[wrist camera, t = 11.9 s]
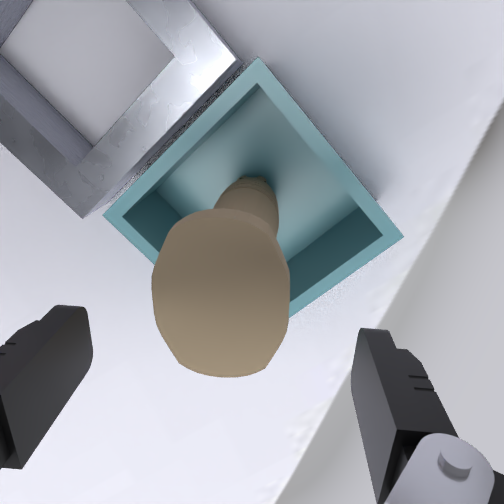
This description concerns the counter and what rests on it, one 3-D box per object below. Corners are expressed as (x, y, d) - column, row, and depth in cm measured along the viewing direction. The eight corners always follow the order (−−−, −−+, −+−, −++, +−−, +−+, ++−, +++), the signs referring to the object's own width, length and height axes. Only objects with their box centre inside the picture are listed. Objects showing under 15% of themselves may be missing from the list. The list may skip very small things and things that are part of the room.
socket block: (-52, 48, 26) (-107, 42, 22) (72, -144, 22) (28, -191, 18) (107, 202, 29) (82, 218, 26) (243, 63, 25) (236, 59, 21)
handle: (289, 149, 26) (293, 219, 12) (285, 239, 28) (285, 381, 15) (217, 148, 26) (144, 214, 13) (219, 237, 29) (160, 373, 15)
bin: (143, 186, 29) (102, 215, 22) (265, 64, 25) (258, 56, 18) (252, 296, 32) (244, 349, 25) (376, 201, 28) (404, 236, 21)
